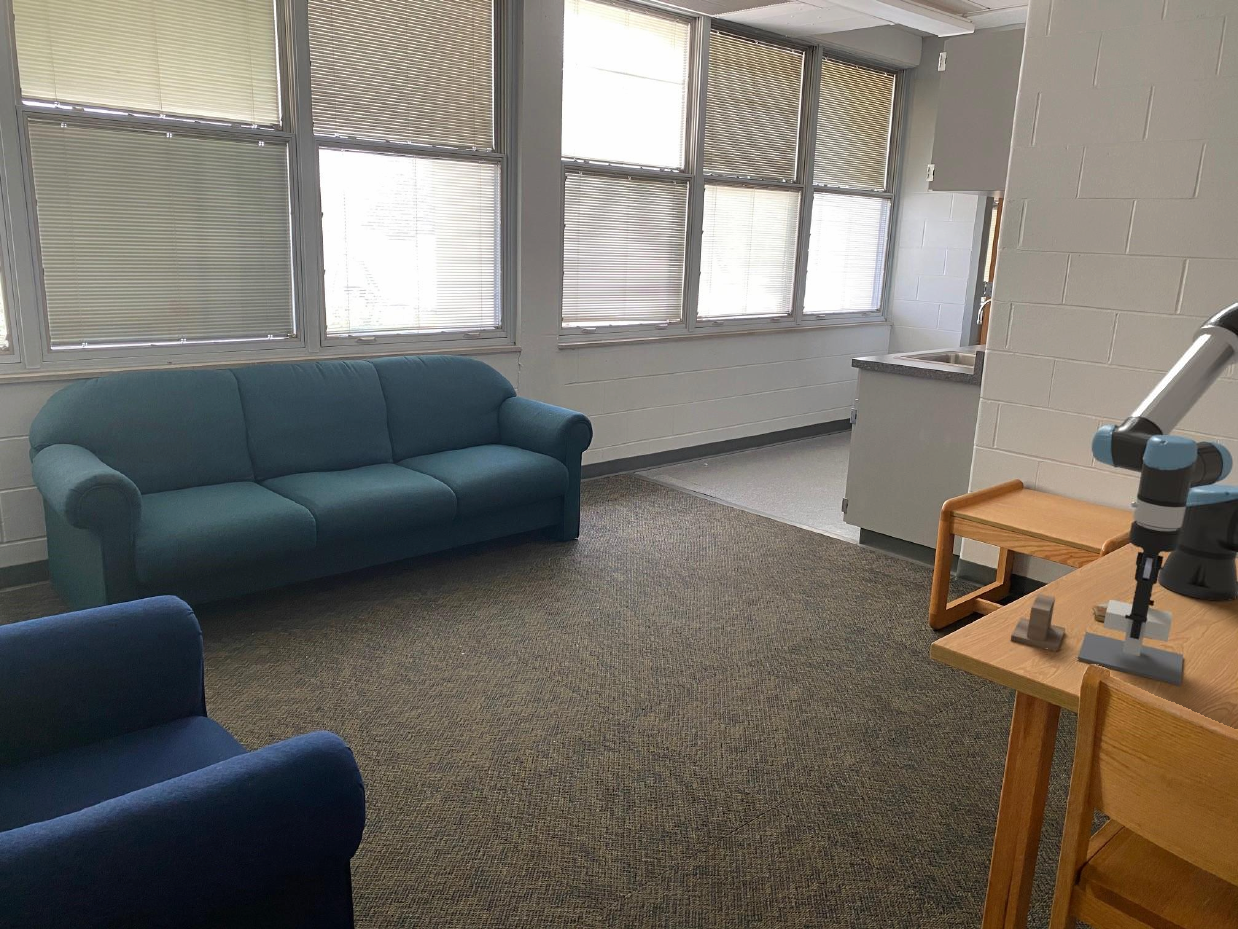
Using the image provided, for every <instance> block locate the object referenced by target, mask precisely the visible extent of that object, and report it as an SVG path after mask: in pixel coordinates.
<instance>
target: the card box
mask: <svg viewBox="0 0 1238 929" xmlns="http://www.w3.org/2000/svg"><path fill="white" fill-rule="evenodd" d="M1107 604H1108V607H1107V611H1106V615H1105V621H1104V622H1103V628H1104V629H1109V630H1113V631H1118V632H1122V633H1126V631H1127V626H1128V621H1129V619H1126V618H1125V615H1130V614H1131V610H1132V605H1133V604H1132V603H1128V602H1125V601H1124V602H1123V601H1120V600H1119V601H1118V600H1114V599H1109V601H1108V603H1107ZM1172 618H1173V612H1170V611H1167V610H1166V611H1165V610H1160V609H1157V608H1151V607H1149V608H1148V613H1147V622H1146V627H1145V632H1144V637H1143V638H1148V639H1153V640H1157V641H1162V642H1165V643H1168V640H1169V636H1170V630H1171V625H1172Z"/></svg>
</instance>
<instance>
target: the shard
mask: <svg viewBox="0 0 1238 929" xmlns="http://www.w3.org/2000/svg"><path fill="white" fill-rule="evenodd" d="M1091 609H1092V610H1093V611H1094V613H1095V614H1094V621H1098V622H1103V623H1104V621H1105V615H1106V611H1107V607H1102V606H1098V605H1093V606H1091Z"/></svg>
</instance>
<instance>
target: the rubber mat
mask: <svg viewBox="0 0 1238 929" xmlns="http://www.w3.org/2000/svg"><path fill="white" fill-rule="evenodd" d="M1124 642H1125V640H1123V639H1122V640H1121V639H1117V638H1114V637H1110V636H1109V637H1108V636H1105V635H1101V634H1096V633H1092V632H1088V631H1086V632H1085V635H1084V637H1083V640H1082V644H1081V647H1080V650H1079V653H1078V657H1077V659H1079V660H1082V661H1081V662H1083V661H1086V662H1085V663H1087V662H1089V663H1088V664H1091V663H1093V664H1092V665H1095V664H1099V665H1100V667H1103V666H1104V668H1107V667H1108V668H1107V669H1112V670H1115V671H1116V670H1117V671H1119V672H1124V673H1128V674H1132V675H1136V676H1140V677H1144V678H1149V679H1153V680H1157V681H1160V682H1165V683H1167V684H1173V685H1175V686H1181V684H1182V673H1183V660H1184V654H1181V653H1177V652H1174V651H1169V650H1164V649H1161V648H1157V647H1152V646H1149V645H1143V644H1142V647H1141V652H1140V656H1137V655H1132V654H1128V653H1124V652H1123V647H1124ZM1079 660H1078V661H1079ZM1099 665H1098V666H1099Z"/></svg>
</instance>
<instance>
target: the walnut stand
mask: <svg viewBox="0 0 1238 929" xmlns="http://www.w3.org/2000/svg"><path fill="white" fill-rule="evenodd" d="M1034 599H1035V600H1034V602H1033V603H1032V605H1031V610H1030V613H1029V615H1030V616H1029V618H1025V617H1024V618H1023V617H1019V620H1018V622H1017V624H1016V626H1015V628H1014V630H1013V632H1012V633H1011V635H1010V641H1012V642H1017V643H1020V644H1024V643H1025V645H1028V644H1029V646H1032V645H1034V646H1033V647H1037V648H1040V647H1042V648H1041V649H1044V648H1048V649H1050V650H1049V651H1052V650H1055V651H1054V652H1056V651H1057V650H1059V648H1060V645H1061V643H1062V641H1063V637H1064V635H1065V631H1066V628H1065V627H1063V626H1058V625H1055V624H1054V625H1053V624H1052V620H1053V619H1052V618H1053V615H1054V614H1053V612H1054V608H1055V601H1056V597H1055V596H1050V595H1045V594H1041V593H1037V595H1036V598H1034ZM1048 649H1047V650H1048ZM1057 652H1058V651H1057Z"/></svg>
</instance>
